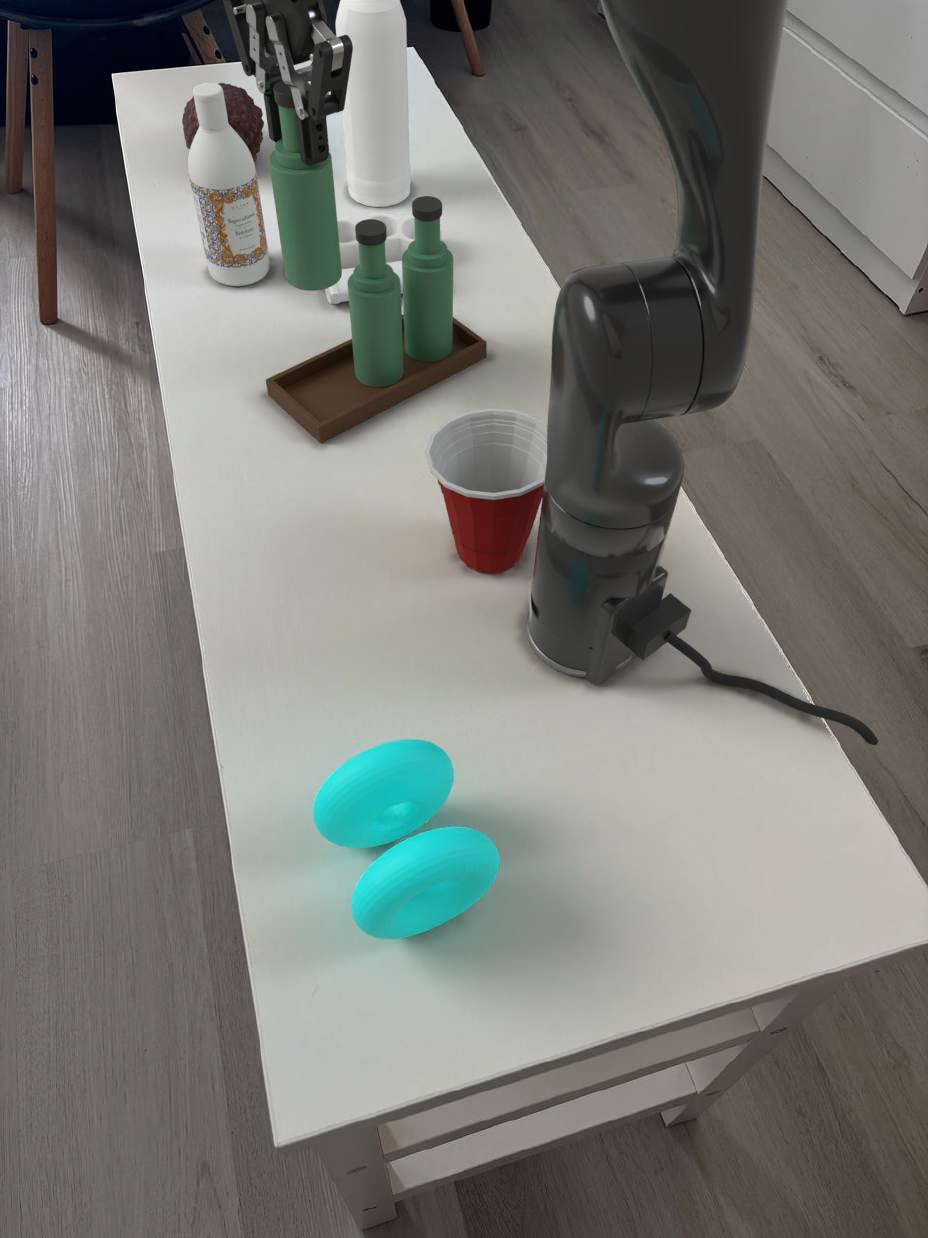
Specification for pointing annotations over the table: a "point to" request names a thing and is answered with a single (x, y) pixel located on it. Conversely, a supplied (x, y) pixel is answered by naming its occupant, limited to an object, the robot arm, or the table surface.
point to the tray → (361, 384)
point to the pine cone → (231, 118)
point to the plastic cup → (490, 483)
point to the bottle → (376, 102)
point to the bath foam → (226, 194)
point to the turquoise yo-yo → (417, 867)
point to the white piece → (395, 246)
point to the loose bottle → (303, 205)
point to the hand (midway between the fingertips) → (299, 149)
